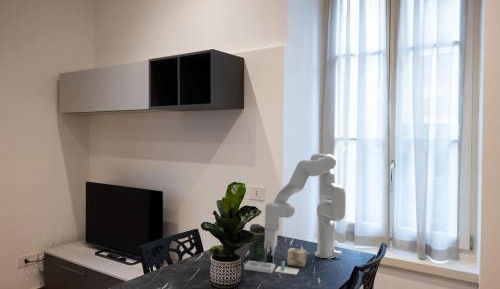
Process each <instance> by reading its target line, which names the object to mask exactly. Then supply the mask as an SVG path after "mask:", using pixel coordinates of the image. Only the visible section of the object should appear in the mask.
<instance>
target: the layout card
mask: <svg viewBox="0 0 500 289" xmlns="http://www.w3.org/2000/svg"><path fill="white" fill-rule="evenodd" d="M299 271H300V269H299V268H293V267H289V266H287V267H286V261H285V260H282V261H281V266H280V265H279V266H277V268H275V269H274V272H276V273H283V274H289V275H295V276H296V275H297V274H298V273H299Z"/></svg>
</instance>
